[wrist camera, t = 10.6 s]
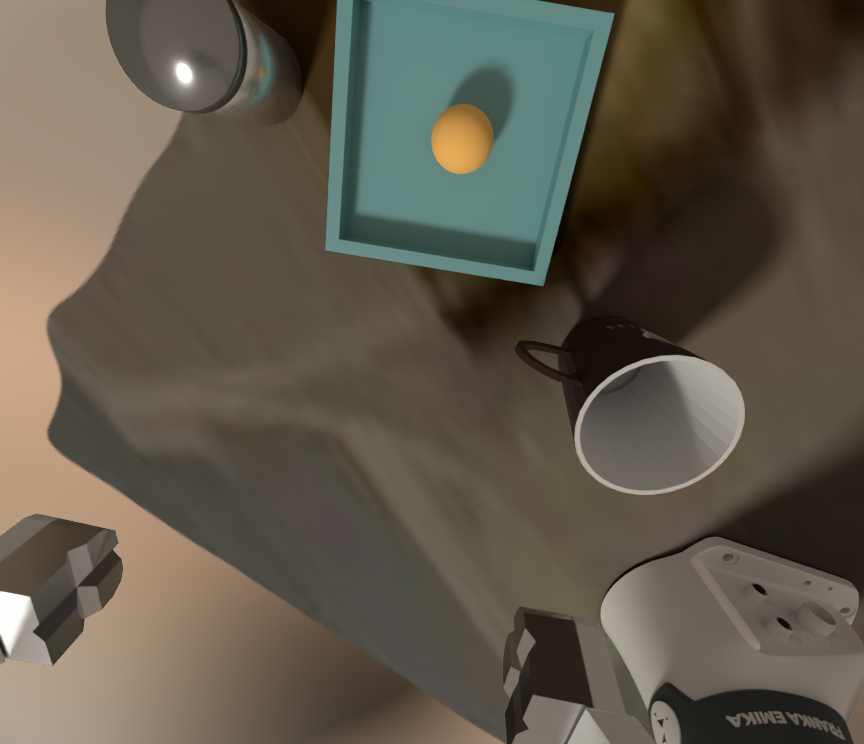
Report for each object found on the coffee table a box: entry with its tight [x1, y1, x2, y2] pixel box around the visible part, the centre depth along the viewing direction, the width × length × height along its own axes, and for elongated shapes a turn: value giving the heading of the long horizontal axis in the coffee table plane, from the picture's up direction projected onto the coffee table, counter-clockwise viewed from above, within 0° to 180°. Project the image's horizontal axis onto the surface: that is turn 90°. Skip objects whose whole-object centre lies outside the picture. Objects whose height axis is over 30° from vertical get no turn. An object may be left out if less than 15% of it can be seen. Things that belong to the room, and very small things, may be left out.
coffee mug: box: [515, 316, 745, 495], centre depth 27 cm, size 12×9×10 cm
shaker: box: [106, 0, 303, 125], centre depth 22 cm, size 5×5×9 cm
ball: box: [431, 104, 493, 174], centre depth 25 cm, size 4×4×4 cm
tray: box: [326, 0, 614, 286], centre depth 26 cm, size 14×14×2 cm
